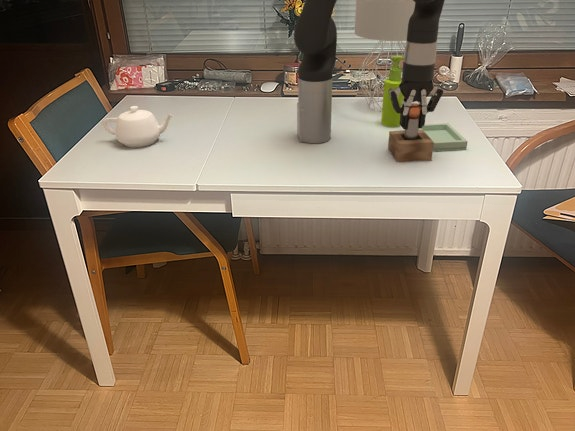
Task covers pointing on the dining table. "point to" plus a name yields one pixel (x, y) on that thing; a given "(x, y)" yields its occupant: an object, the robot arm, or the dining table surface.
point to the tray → (444, 137)
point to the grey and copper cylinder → (412, 122)
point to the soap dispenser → (393, 81)
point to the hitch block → (410, 147)
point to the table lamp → (382, 28)
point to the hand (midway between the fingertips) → (411, 127)
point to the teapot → (136, 127)
